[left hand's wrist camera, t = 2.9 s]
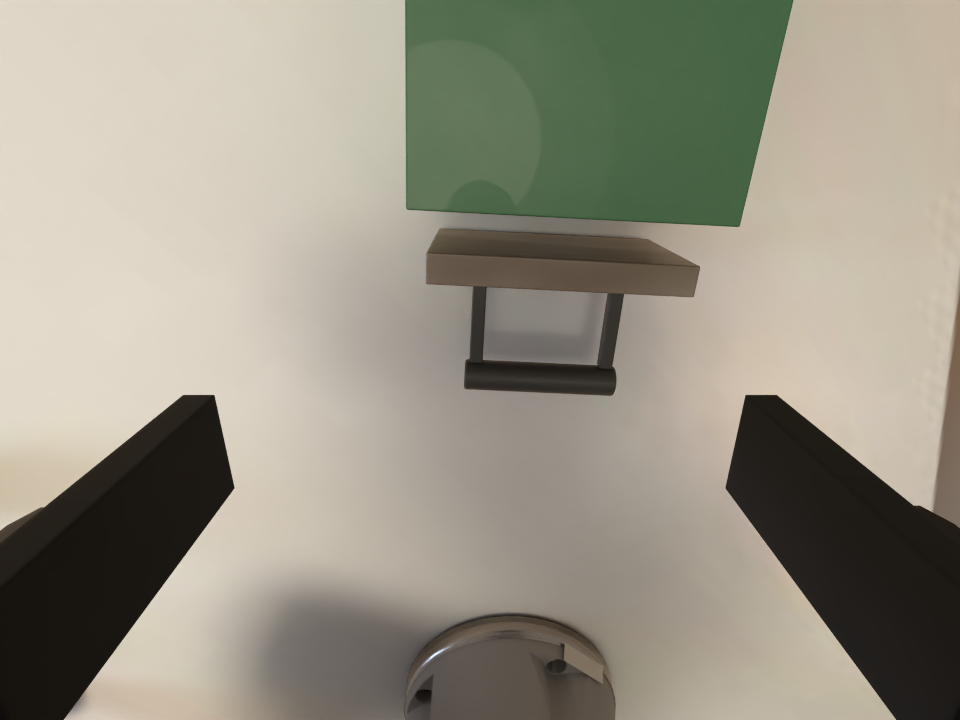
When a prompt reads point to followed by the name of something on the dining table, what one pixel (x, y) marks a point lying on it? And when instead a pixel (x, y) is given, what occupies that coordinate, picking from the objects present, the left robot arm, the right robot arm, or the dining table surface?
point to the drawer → (553, 268)
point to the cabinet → (588, 106)
